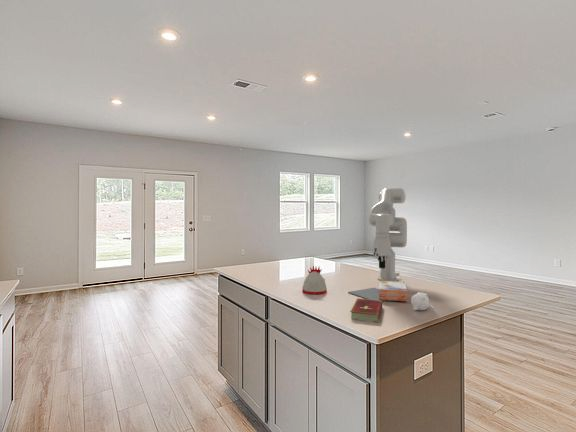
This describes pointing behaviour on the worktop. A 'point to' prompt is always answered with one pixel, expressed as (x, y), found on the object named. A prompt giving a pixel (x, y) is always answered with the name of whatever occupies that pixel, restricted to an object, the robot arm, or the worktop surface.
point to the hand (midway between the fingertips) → (382, 268)
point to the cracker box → (392, 291)
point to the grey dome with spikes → (314, 283)
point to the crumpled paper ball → (420, 301)
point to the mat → (368, 294)
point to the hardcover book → (366, 310)
